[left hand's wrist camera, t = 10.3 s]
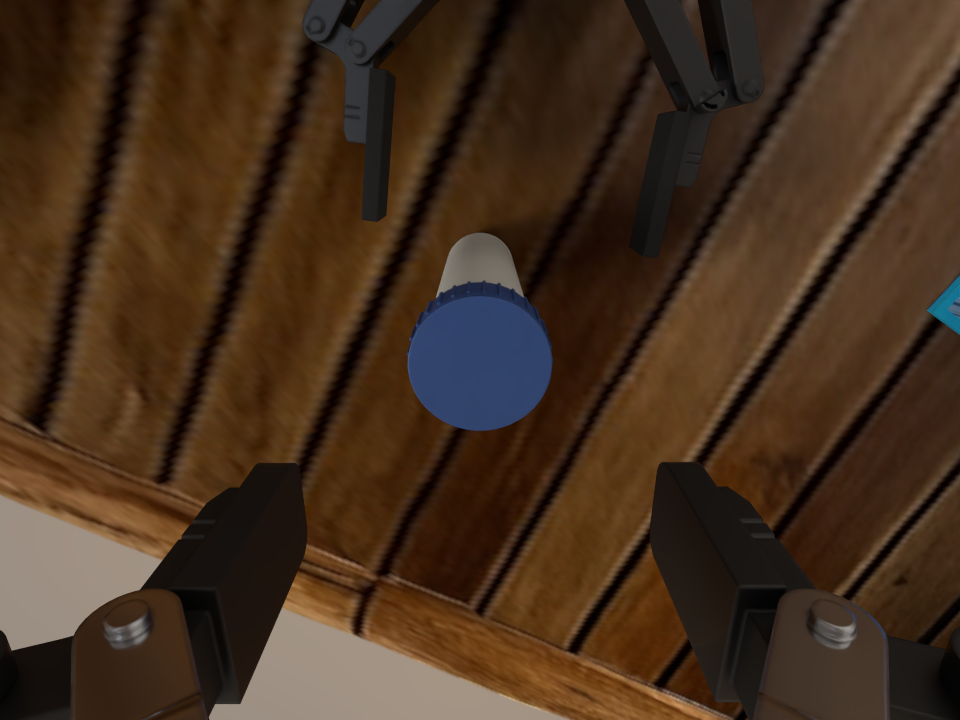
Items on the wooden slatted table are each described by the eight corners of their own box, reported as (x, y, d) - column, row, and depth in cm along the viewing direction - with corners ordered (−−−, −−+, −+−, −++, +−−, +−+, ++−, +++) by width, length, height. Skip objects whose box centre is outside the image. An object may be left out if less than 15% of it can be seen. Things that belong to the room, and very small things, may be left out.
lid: (422, 413, 22) (416, 439, 20) (402, 287, 20) (394, 301, 18) (551, 401, 22) (558, 426, 20) (543, 272, 20) (549, 286, 18)
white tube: (451, 301, 36) (428, 421, 20) (442, 236, 34) (411, 309, 19) (515, 295, 36) (543, 410, 20) (510, 229, 34) (535, 297, 18)
